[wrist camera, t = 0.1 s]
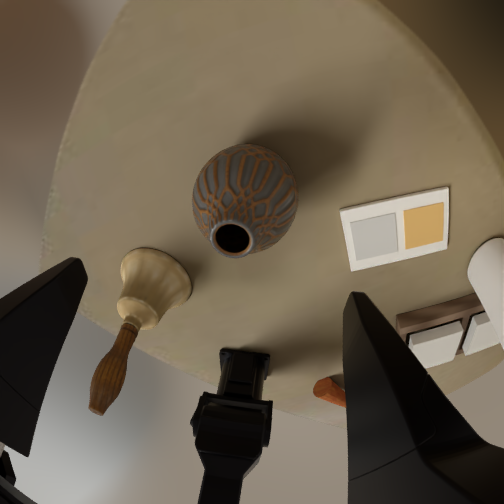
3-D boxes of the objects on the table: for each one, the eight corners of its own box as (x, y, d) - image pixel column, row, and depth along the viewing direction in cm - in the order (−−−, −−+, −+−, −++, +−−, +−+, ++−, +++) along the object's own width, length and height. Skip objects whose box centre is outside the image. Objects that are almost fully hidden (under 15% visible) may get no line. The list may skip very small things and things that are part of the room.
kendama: (342, 392, 33) (400, 427, 38) (335, 362, 38) (392, 403, 44) (308, 412, 35) (373, 442, 40) (304, 381, 40) (367, 418, 46)
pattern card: (350, 268, 26) (351, 272, 25) (339, 209, 22) (340, 212, 22) (445, 246, 23) (447, 249, 22) (446, 186, 19) (449, 188, 19)
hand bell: (159, 235, 26) (75, 382, 13) (206, 295, 30) (163, 438, 17) (108, 262, 29) (34, 380, 16) (153, 312, 33) (104, 428, 20)
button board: (393, 360, 34) (396, 371, 32) (396, 315, 29) (400, 328, 27) (497, 327, 29) (501, 338, 27) (514, 279, 24) (521, 289, 22)
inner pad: (406, 363, 31) (408, 373, 30) (410, 334, 28) (413, 345, 26) (450, 351, 29) (452, 360, 28) (459, 320, 26) (463, 330, 24)
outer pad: (462, 347, 29) (465, 355, 27) (472, 316, 25) (477, 325, 24) (498, 333, 27) (502, 341, 25) (511, 301, 23) (516, 310, 22)
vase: (286, 126, 19) (284, 163, 12) (304, 209, 23) (309, 282, 16) (197, 147, 21) (148, 195, 14) (223, 222, 24) (195, 294, 17)
